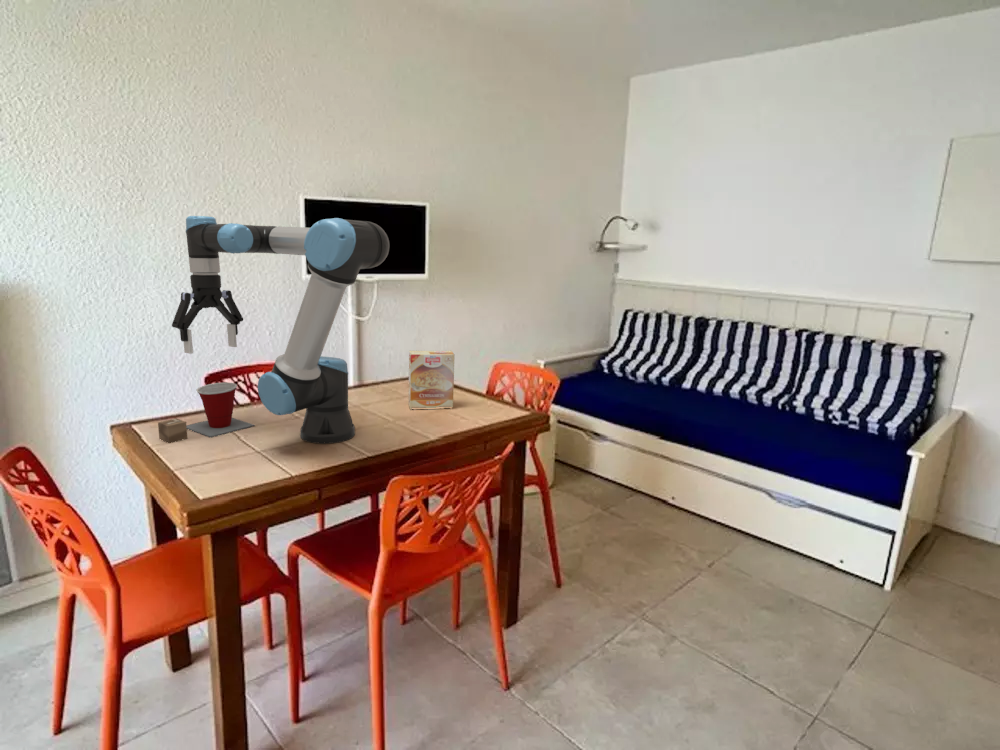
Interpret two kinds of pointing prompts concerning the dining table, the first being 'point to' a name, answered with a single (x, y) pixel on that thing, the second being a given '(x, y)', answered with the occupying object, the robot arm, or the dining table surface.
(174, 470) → the dining table surface
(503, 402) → the dining table surface
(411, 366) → the coffeecake box
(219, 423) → the plastic cup
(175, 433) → the letter block
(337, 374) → the robot arm
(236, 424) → the mat
